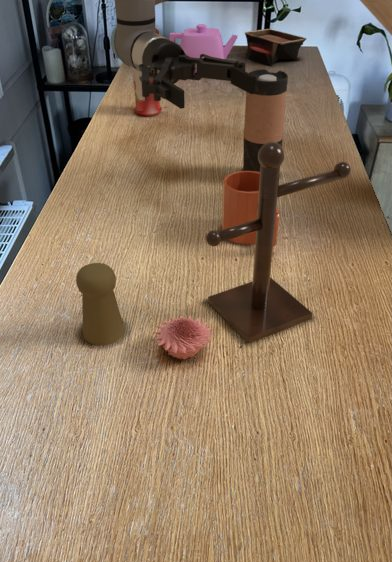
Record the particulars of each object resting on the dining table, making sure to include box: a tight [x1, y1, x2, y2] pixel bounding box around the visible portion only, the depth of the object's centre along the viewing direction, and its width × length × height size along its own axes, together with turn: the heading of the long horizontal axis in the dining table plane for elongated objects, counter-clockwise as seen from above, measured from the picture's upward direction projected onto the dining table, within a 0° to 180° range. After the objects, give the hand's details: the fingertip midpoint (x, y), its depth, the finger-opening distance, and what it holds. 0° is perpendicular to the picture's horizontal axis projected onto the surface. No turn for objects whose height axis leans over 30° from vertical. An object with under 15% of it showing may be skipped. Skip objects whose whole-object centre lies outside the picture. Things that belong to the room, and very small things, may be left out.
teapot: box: [168, 23, 239, 75], centre depth 170 cm, size 20×12×13 cm, turn 86°
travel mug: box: [242, 68, 289, 172], centre depth 114 cm, size 8×8×20 cm
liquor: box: [131, 28, 163, 117], centre depth 139 cm, size 7×7×28 cm
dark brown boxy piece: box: [244, 28, 307, 67], centre depth 180 cm, size 14×18×10 cm
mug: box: [221, 170, 281, 248], centre depth 99 cm, size 13×8×10 cm, turn 30°
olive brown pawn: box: [75, 262, 125, 346], centre depth 80 cm, size 6×6×11 cm
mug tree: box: [205, 142, 352, 344], centre depth 79 cm, size 22×11×26 cm, turn 120°
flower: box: [152, 314, 214, 360], centre depth 78 cm, size 8×8×6 cm
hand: (219, 92), depth 96 cm, fingers open, 13 cm apart
